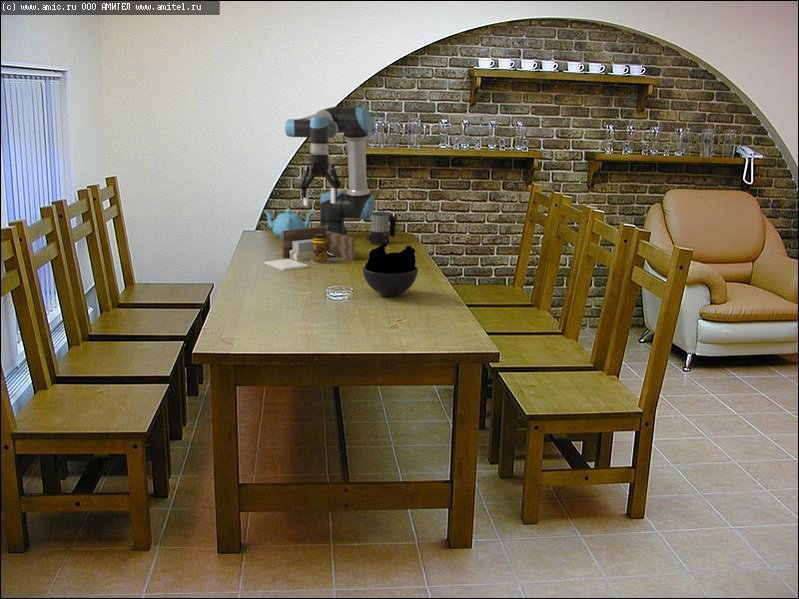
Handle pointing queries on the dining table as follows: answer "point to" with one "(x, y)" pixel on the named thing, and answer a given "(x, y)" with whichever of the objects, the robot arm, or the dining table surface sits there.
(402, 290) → the bowl of black rocks
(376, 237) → the milk frother
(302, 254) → the block
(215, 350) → the dining table surface
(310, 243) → the offcut top
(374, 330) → the dining table surface
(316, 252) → the condiment
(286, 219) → the teapot
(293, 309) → the dining table surface
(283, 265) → the pad
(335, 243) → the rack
